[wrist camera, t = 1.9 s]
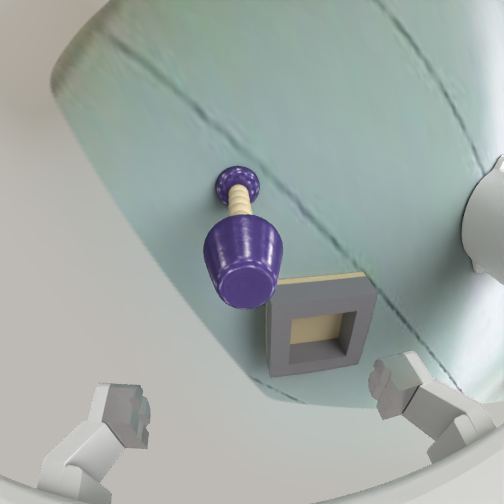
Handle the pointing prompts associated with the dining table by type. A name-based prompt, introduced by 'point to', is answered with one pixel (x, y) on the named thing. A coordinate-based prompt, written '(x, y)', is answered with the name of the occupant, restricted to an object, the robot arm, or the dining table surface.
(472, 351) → the dining table surface
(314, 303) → the socket block
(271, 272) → the toy lamp
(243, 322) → the dining table surface
